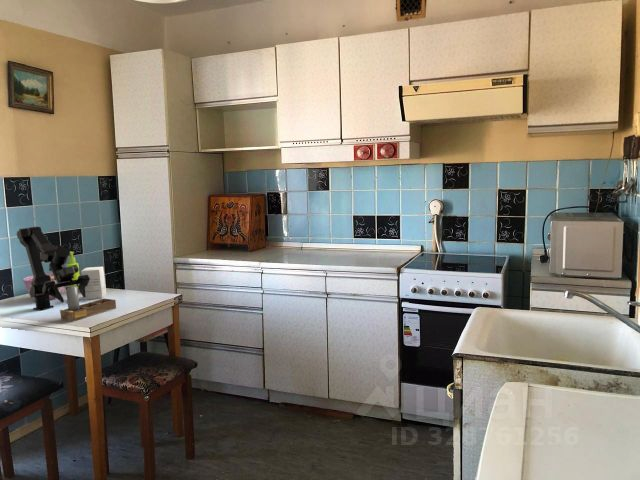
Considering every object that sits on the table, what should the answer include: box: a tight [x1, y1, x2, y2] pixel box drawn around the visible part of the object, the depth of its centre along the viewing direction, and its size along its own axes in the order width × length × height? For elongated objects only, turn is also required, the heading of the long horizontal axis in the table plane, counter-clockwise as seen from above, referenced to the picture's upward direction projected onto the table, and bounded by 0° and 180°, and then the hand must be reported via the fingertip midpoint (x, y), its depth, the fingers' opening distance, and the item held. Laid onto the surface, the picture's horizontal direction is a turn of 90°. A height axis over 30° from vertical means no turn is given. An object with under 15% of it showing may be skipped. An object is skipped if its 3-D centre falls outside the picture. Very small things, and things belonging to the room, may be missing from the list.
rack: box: [59, 298, 117, 322], centre depth 229 cm, size 8×22×4 cm, turn 151°
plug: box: [65, 286, 80, 311], centre depth 223 cm, size 4×4×13 cm
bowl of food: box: [22, 272, 66, 301], centre depth 265 cm, size 20×20×12 cm
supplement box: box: [80, 266, 107, 301], centre depth 261 cm, size 9×9×15 cm
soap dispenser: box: [66, 251, 81, 287], centre depth 291 cm, size 6×7×20 cm
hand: (74, 299), depth 222 cm, fingers open, 9 cm apart
